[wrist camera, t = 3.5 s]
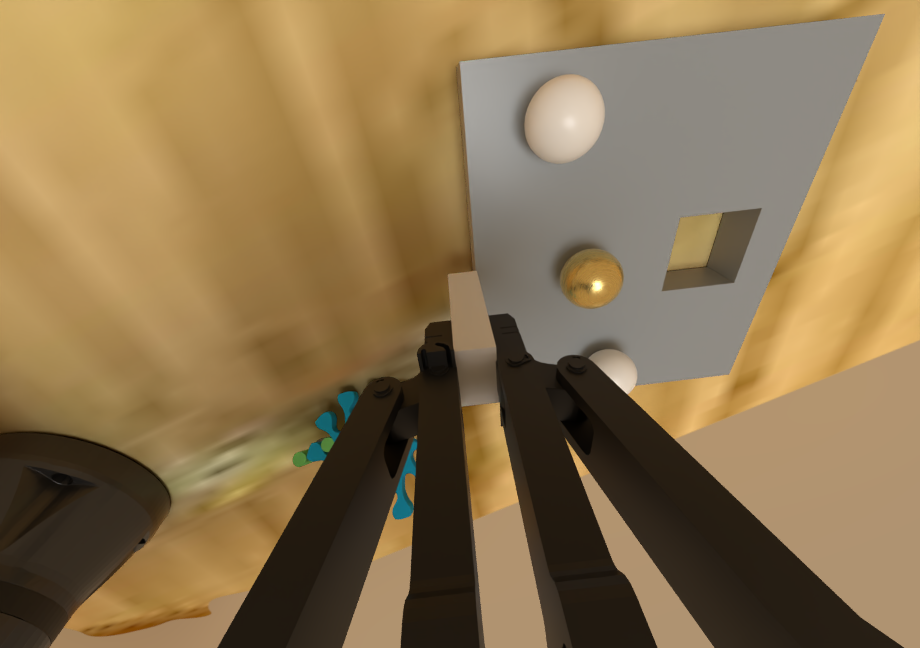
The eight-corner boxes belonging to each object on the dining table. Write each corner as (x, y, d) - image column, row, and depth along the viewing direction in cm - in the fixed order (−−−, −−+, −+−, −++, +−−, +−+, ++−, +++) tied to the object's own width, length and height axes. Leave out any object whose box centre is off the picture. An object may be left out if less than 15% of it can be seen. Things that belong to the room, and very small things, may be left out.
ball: (551, 295, 21) (569, 323, 18) (553, 243, 19) (574, 266, 16) (603, 288, 21) (629, 316, 18) (611, 236, 19) (641, 258, 16)
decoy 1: (574, 378, 24) (592, 412, 22) (578, 342, 23) (598, 374, 20) (618, 373, 24) (642, 406, 22) (626, 336, 23) (652, 367, 20)
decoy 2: (517, 162, 17) (534, 173, 14) (517, 81, 15) (536, 75, 12) (583, 154, 17) (612, 164, 14) (590, 73, 15) (626, 65, 12)
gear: (440, 381, 25) (439, 534, 23) (450, 384, 31) (450, 506, 28) (295, 383, 26) (281, 529, 24) (331, 385, 32) (323, 503, 30)
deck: (481, 380, 27) (485, 403, 25) (456, 67, 16) (459, 61, 14) (706, 353, 27) (729, 374, 25) (827, 25, 17) (885, 13, 14)
